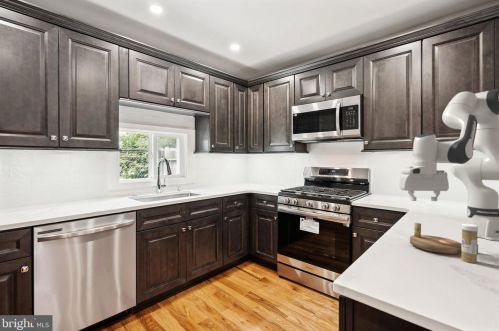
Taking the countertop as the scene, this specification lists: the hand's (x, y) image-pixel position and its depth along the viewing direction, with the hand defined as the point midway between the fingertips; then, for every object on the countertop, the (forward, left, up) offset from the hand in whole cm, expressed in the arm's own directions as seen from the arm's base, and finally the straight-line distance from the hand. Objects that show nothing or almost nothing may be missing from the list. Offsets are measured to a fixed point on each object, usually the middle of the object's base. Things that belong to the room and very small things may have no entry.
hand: (423, 200), depth 111 cm
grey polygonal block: (-15, +6, -19) cm, 25 cm away
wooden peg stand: (-3, +6, -19) cm, 20 cm away
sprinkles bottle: (-10, +18, -19) cm, 28 cm away
